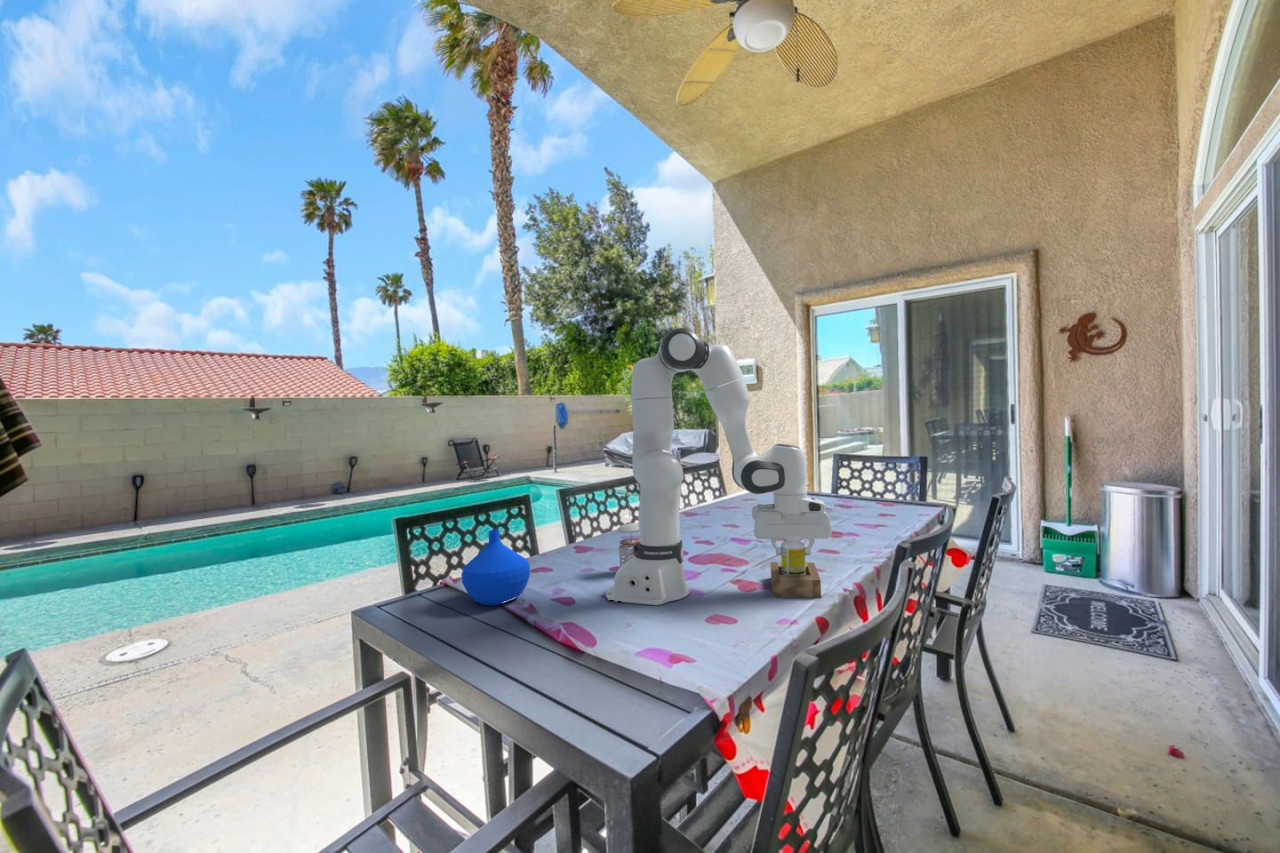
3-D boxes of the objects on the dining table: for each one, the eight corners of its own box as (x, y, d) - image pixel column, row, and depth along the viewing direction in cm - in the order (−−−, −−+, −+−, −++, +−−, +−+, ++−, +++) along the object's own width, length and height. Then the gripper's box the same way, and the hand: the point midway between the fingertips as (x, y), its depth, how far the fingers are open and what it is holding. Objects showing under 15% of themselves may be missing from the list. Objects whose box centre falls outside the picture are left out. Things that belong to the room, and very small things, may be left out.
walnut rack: (772, 596, 141) (771, 579, 141) (771, 577, 157) (770, 562, 157) (821, 597, 139) (820, 579, 139) (814, 578, 154) (813, 562, 154)
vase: (541, 588, 158) (537, 523, 158) (516, 611, 140) (511, 537, 140) (482, 588, 161) (478, 524, 161) (450, 611, 143) (445, 538, 143)
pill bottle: (809, 574, 148) (808, 533, 148) (798, 579, 143) (797, 537, 143) (788, 570, 152) (787, 530, 152) (777, 575, 148) (776, 534, 147)
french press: (616, 568, 175) (611, 491, 174) (651, 566, 176) (647, 488, 175) (618, 577, 165) (613, 495, 164) (656, 574, 166) (651, 492, 165)
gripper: (751, 506, 146) (753, 557, 147) (831, 505, 142) (833, 557, 142) (751, 502, 153) (753, 551, 153) (828, 501, 148) (830, 551, 149)
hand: (793, 554), depth 148 cm, fingers closed on pill bottle, 6 cm apart
